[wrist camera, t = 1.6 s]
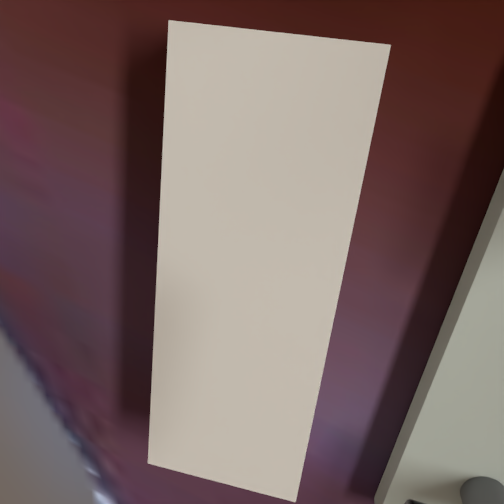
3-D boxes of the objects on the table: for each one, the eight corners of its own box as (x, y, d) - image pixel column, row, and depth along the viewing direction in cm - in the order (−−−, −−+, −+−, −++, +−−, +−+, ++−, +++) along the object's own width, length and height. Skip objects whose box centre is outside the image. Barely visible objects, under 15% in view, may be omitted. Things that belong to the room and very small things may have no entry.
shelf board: (303, 445, 20) (295, 502, 17) (174, 414, 21) (147, 463, 18) (383, 53, 14) (390, 45, 12) (201, 32, 15) (168, 20, 12)
